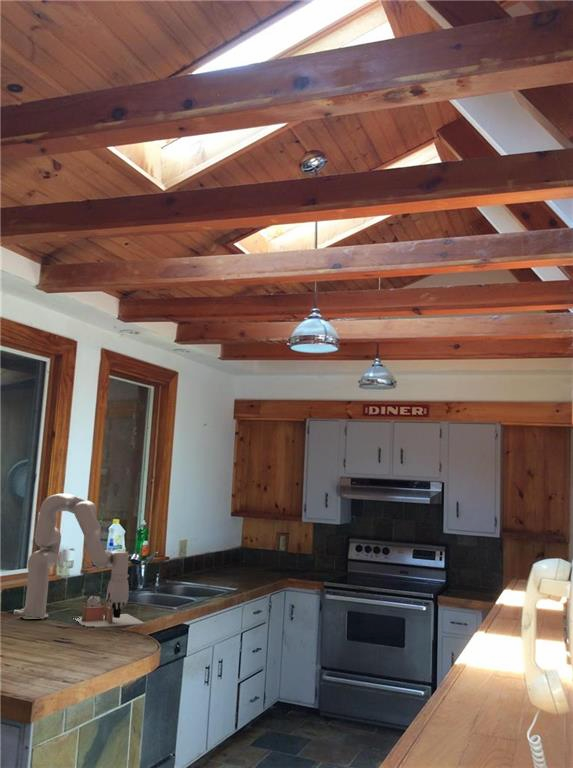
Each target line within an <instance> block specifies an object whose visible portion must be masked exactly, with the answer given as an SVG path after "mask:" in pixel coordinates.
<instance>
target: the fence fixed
mask: <svg viewBox="0 0 573 768" xmlns="http://www.w3.org/2000/svg"><path fill="white" fill-rule="evenodd" d="M107 604H108V603H106V604H105V606H100V607H87V605H84V606H83V605H82V609H81V610H82V611H81V612H82V613H81V617H82V620H81V621H91V620H103V618H104V615H105V620H106V616H107V606H109V605H107Z"/></svg>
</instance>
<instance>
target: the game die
mask: <svg viewBox="0 0 573 768" xmlns="http://www.w3.org/2000/svg"><path fill="white" fill-rule="evenodd" d="M84 603H86V606H87V608H88V607H102V606H103V605H104V604H103V603H102V600H101V594H100V595H99V596H98V595H92V594H90V595H89V598H88V599H87V600H86V601H84Z"/></svg>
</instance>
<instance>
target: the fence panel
mask: <svg viewBox="0 0 573 768" xmlns="http://www.w3.org/2000/svg"><path fill="white" fill-rule="evenodd" d="M113 610H114V609H113V608H112V606H107V616H106V620H107V621H108V623H109V624H112V620H113Z"/></svg>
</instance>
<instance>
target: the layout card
mask: <svg viewBox="0 0 573 768" xmlns="http://www.w3.org/2000/svg"><path fill="white" fill-rule="evenodd" d="M78 617H79V618H80V619H79V618H77V619H76V618H75V620H76V621H75V620H74V618H73V619H72V620H74V621H75V622H77V621H78V622H79V623H78V622H77V623H78V624H80V625H81V626H83V625H85V626H95V628H106V627H107V628H108V627H118V626H122V627H123V626H133V625H145V624H146V622H144V621H142V620H140V619H138V618H136V617H134V616H132V615H130V614H129V613H120V618H114V617H113V620H112V624H109V623H108V621H107V620H105V614H104V618H103V620H91V621H81V620H82V616H78Z"/></svg>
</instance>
